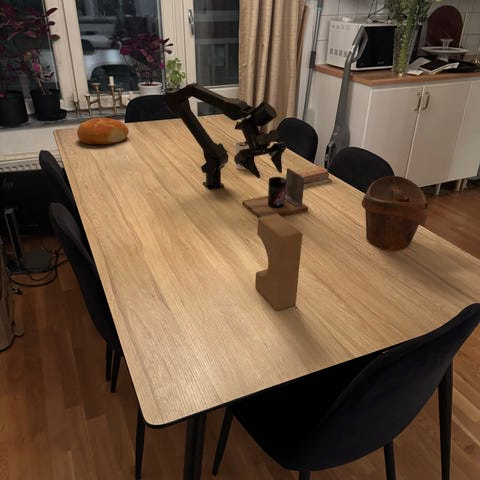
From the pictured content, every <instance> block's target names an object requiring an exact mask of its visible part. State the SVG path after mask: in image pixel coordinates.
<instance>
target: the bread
mask: <svg viewBox="0 0 480 480" xmlns="http://www.w3.org/2000/svg"><path fill="white" fill-rule="evenodd" d="M129 131H130V130H129V127H128V126H127V125H126V124H125V123H124V122H122V121H121V120H116V119H113V118H109V117H108V118H106V117H95V118H92V119H91V118H90V119H89V120H86V121H84V122H82V123H80V125H79V126H78V127H77V130H76V132H77V133H76V135H77V137H78V139H79V140H80V141H81V143H83V144H87V145H90V146H93V145H113V144H117V143H120V142H122V141H124V140H126V138H127V137H128V136H129Z"/></svg>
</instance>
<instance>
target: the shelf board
mask: <svg viewBox="0 0 480 480" xmlns="http://www.w3.org/2000/svg"><path fill="white" fill-rule="evenodd" d="M294 171H295V170H292V169H291V168H289V167H287V168H286V173H287V175H286V174H285V175H286V176H285V177H286V190H285V204H284V206H283V207H280V208H273V207H270V206H269V205H268V195H264V196H260V197H254V198H250V199H249V198H248V199H244V200H242V201H241V205H242V206H243V207H244V208H245V209H247V210H248V211H249V212H250V213H251V214H253V216H255V217H256V218H257V219H258V218H259V217H263V216H267V215H272V214H278V215H280V216H281V217H282V218H284V217H287V216H291V215H296V214H301V213H304V212H305V213H306V212H308V211H309V206H308V205H306V204H304V203H303V198H304V189H305V187H304V179H305V178H304V177H302V176H301V175H299V174H297V173H296V172H294Z"/></svg>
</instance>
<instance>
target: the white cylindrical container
mask: <svg viewBox="0 0 480 480" xmlns="http://www.w3.org/2000/svg"><path fill="white" fill-rule="evenodd" d="M244 142H245V141H243V140H241V141H236V142H234V156H235V155H236V154H237V153H238V152H239V151H240V150H243V149H248V148H249V146H248V145H245V143H244ZM234 167H235V169H236V170H237V169H238V170H247V169H246V168H245V167H243V166H240V164H238V165H236V163H235V162H234Z"/></svg>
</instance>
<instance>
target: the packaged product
mask: <svg viewBox="0 0 480 480" xmlns="http://www.w3.org/2000/svg"><path fill="white" fill-rule="evenodd" d="M293 171H294V172H296V173H297V174H299V175H301V176H302V177H304V178H305V179H304V188H306V187H312V186H316V185H321V184H325V183H331V182H333V179H332V178H329V177H330V174H329V171H328V168H325V167H323V166H321V165H317V166H311V167H307V168H300V169H296V170H293ZM285 175H287V172H286V173H285ZM281 177H282V178H284V179H286V176H281Z"/></svg>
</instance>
